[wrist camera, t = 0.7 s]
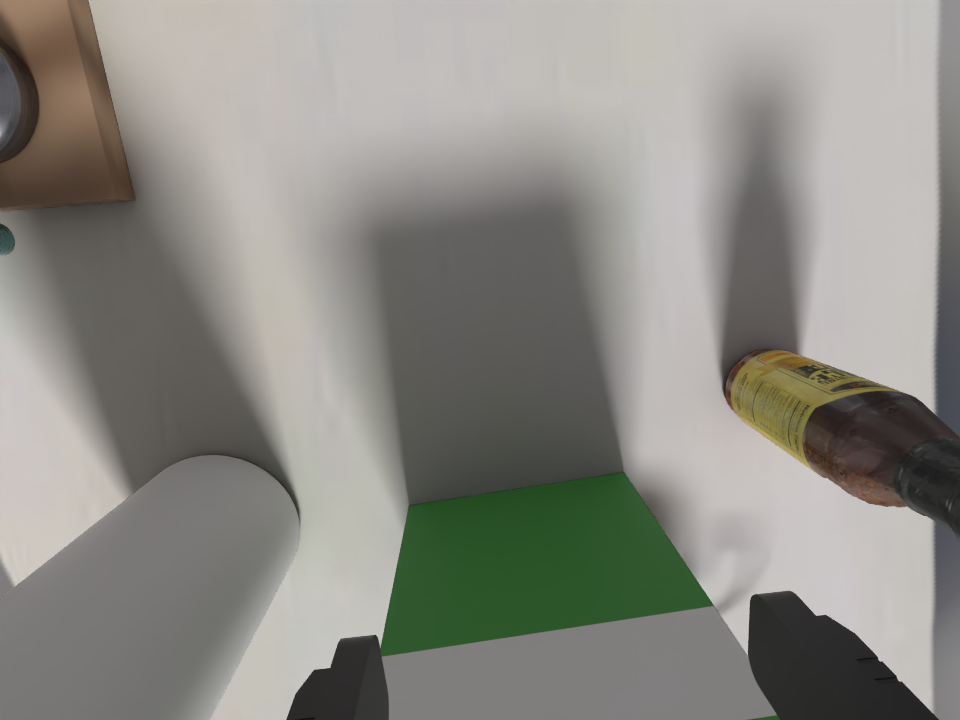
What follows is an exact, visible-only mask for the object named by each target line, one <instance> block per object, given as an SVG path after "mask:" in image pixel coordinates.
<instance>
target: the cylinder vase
mask: <svg viewBox="0 0 960 720" xmlns="http://www.w3.org/2000/svg"><path fill="white" fill-rule="evenodd" d="M299 540H300V523H299V518H298V514H297V511H296V508H295V505H294V503H293V501H292V499H291V497H290V496H289V494H288V493H287V491H286V490H285V489H284V487H283V486H282V485H281V484H280V483H279V482H278V481H277V480H276V479H275V478H274V477H273V476H271V475H270V474H269V473H267V472H266V471H265V470H263V469H261V468H260V467H258V466H256V465H254V464H252V463H250V462H247V461H244V460H241V459H238V458H234V457H229V456H222V455H203V456H196V457H192V458H188V459H185V460H182V461H179V462H177V463H175V464H173V465H171V466H169V467H167V468H166V469H164V470H163V471H162V472H160V473H159V474H158V475H156V476H155V477H154V478H153V479H151V480H150V481H149V482H148V483H146V484H145V485H144V486H142V487H141V488H140V489H139V490H137V491H136V492H135V493H134V494H132V495H131V496H130V497H129V498H127V499H126V500H125V501H123V502H122V503H121V504H120V505H118V506H117V507H116V508H115V509H113V510H112V511H111V512H109V513H108V514H107V515H106V516H104V517H103V518H102V519H101V520H99V521H98V522H97V523H95V524H94V525H93V526H92V527H90V528H89V529H88V530H87V531H85V532H84V533H83V534H81V535H80V536H79V537H78V538H76V539H75V540H74V541H73V542H71V543H70V544H69V545H68V546H66V547H65V548H64V549H62V550H61V551H60V552H59V553H57V554H56V555H55V556H54V557H52V558H51V559H50V560H48V561H47V562H46V563H45V564H43V565H42V566H41V567H40V568H38V569H37V570H36V571H34V572H33V573H32V574H31V575H29V576H28V577H27V578H26V579H24V580H23V581H22V582H20V583H19V584H18V585H17V586H15V587H14V588H13V589H12V590H10V591H9V592H8V593H7V594H5V595H4V596H3V597H2V598H0V720H210V719H211V717H212V715H213V713H214V711H215V709H216V707H217V705H218V703H219V701H220V699H221V698H222V696H223V694H224V692H225V690H226V688H227V686H228V684H229V682H230V680H231V678H232V676H233V675H234V673H235V671H236V669H237V667H238V665H239V663H240V661H241V659H242V657H243V655H244V653H245V652H246V650H247V648H248V646H249V644H250V642H251V640H252V638H253V636H254V634H255V632H256V631H257V629H258V627H259V625H260V623H261V621H262V619H263V617H264V615H265V613H266V611H267V609H268V608H269V606H270V604H271V602H272V600H273V598H274V596H275V594H276V592H277V590H278V588H279V586H280V585H281V583H282V581H283V579H284V577H285V575H286V573H287V571H288V569H289V567H290V565H291V563H292V562H293V560H294V558H295V555H296V552H297V549H298V546H299Z"/></svg>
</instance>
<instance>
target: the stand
mask: <svg viewBox="0 0 960 720" xmlns="http://www.w3.org/2000/svg"><path fill="white" fill-rule="evenodd" d="M0 39H2V40H3V41H4V42H5V43H6V44H7V45H8V46H9V47H10V48H11V49H12V50H13V51H14V52H15V53H16V54H17V56H18V57H19V58H20V60H21V61H22V62H23V64H24V66H25V68H26V69H27V71H28V73H29V75H30V77H31V80H32V82H33V85H34V88H35V92H36V97H37V104H38V118H37V124H36V128H35V131H34V134H33V136H32V138H31V140H30V142H29V143H28V144H27V146H26V147H25V148H24V149H23V150H22V151H21V152H20V153H19V154H18V155H17V156H15V157H14V158H12V159H10V160H8V161H6V162H3V163H0V211H8V210H20V209H33V208H45V207H58V206H70V205H83V204H95V203H108V202H120V201H133V200H135V196H134V192H133V188H132V184H131V179H130V175H129V171H128V167H127V163H126V158H125V154H124V150H123V146H122V142H121V137H120V133H119V129H118V125H117V121H116V116H115V112H114V108H113V104H112V100H111V95H110V91H109V87H108V83H107V79H106V74H105V70H104V66H103V62H102V58H101V53H100V49H99V45H98V41H97V37H96V32H95V28H94V24H93V20H92V16H91V11H90V7H89V3H88V0H0Z"/></svg>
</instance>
